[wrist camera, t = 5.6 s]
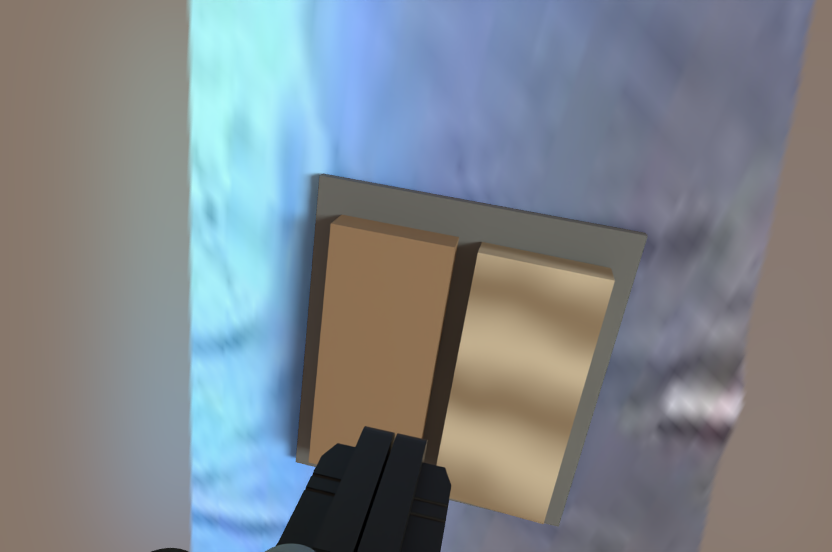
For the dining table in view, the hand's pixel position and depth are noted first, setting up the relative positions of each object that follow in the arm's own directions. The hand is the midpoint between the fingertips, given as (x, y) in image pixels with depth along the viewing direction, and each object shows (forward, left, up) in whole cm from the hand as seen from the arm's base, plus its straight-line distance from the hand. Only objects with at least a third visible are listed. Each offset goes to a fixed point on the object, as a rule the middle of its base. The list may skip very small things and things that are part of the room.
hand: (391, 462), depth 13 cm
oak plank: (+8, +4, -20) cm, 22 cm away
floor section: (+8, 0, -20) cm, 22 cm away
